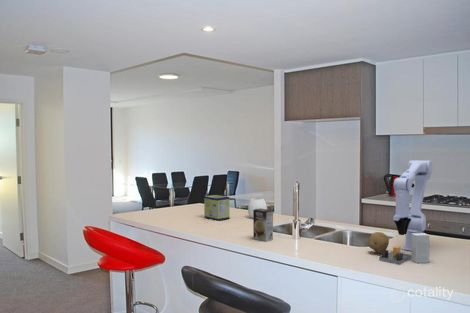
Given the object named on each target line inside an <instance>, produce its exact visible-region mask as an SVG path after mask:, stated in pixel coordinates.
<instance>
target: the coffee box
mask: <svg viewBox="0 0 470 313" xmlns="http://www.w3.org/2000/svg"><path fill="white" fill-rule="evenodd" d="M252 219H253V227H252V228H253V240H256V241H262V242H265V243H267V242H270V241H273V240H274V210H273V209H268V208H267V209H261V208H260V209H254V210H253V218H252Z"/></svg>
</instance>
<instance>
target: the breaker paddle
mask: <svg viewBox="0 0 470 313" xmlns="http://www.w3.org/2000/svg"><path fill="white" fill-rule="evenodd" d="M392 251H393V255H395V256H396V254H397V253H401V246H399V245H398V246H397V245H395V246H393V247H392Z"/></svg>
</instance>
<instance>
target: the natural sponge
mask: <svg viewBox="0 0 470 313" xmlns="http://www.w3.org/2000/svg"><path fill="white" fill-rule="evenodd" d="M389 243H390V238H389V237H388V235H387V234H386V233H384V232H381V231H376V232H373V233H372V234H371V235H370V236H369V238H368V241H367V244H368V247H369V248H370V249H371V250H373V251H374V252H375V253H377V254H379V255H380V254H382V251H383V250H388V248H389V247H388V246H389Z"/></svg>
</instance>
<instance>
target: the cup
mask: <svg viewBox="0 0 470 313" xmlns="http://www.w3.org/2000/svg"><path fill="white" fill-rule="evenodd" d="M247 205H248V207H247V211H248V212H247V213H248V216H249V217H250V218H251V219H253V210H254V209H260V208H261V209H267V210H268V205H267V202H266V201H265V198H263V197H252V198H251V199H250V201H249V203H248V204H247Z"/></svg>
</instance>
